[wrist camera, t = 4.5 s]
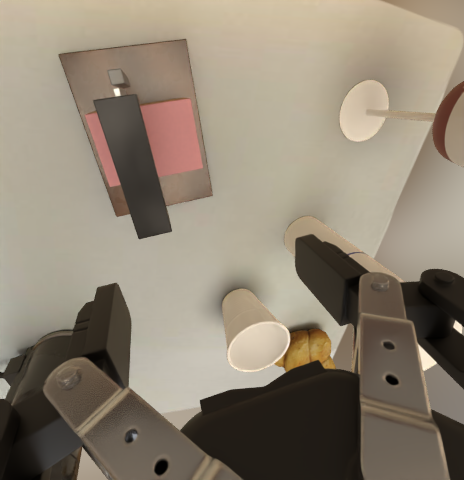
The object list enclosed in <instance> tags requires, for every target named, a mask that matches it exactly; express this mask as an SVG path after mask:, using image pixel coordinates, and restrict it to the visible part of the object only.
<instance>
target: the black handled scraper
mask: <svg viewBox="0 0 464 480" xmlns="http://www.w3.org/2000/svg"><path fill="white" fill-rule="evenodd" d="M113 91H114V94H115V97H110V98H103V99H97V100H93V102H94V105H95V108H96V111H97V114H98V118H99V121H100V124H101V127H102V130H103V133H104V136H105V139H106V142H107V145H108V148H109V151H110V154H111V157H112V160H113V163H114V166H115V169H116V172H117V175H118V178H119V181H120V184H121V187H122V190H123V193H124V196H125V199H126V202H127V205H128V208H129V211H130V214H131V217H132V220H133V223H134V226H135V229H136V232H137V235H138V239H142V238H147V237H151V236H155V235H159V234H163V233H168V232H172V229H171V224H170V220H169V215H168V211H167V208H166V204H165V200H164V196H163V192H162V188H161V185H160V181H159V177H158V173H157V169H156V165H155V161H154V158H153V154H152V150H151V146H150V142H149V138H148V135H147V131H146V127H145V123H144V119H143V115H142V112H141V108H140V104H139V100H138V96H137V94H131V95H127V94H126V91H125V90H124V89H121V88H113Z"/></svg>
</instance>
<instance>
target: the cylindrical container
mask: <svg viewBox="0 0 464 480" xmlns="http://www.w3.org/2000/svg"><path fill="white" fill-rule="evenodd" d="M309 234H313V235H315V236H316V237H317V238H318V239H320V240H321V241H322V242H324V241H326V242H328V243H331V244H334V245H336V246H337V247H339V248H340V249H341V250H342V251H343V252H345V253H346V254H347V255H349V257H351V258H353V259H354V260H355V261H356V262H358V263H359V264H360V265H362V266H363V267H364V268H365V269H367V270H368V271H369V272H380V273H385V274H388V275H391V276H393V277H394V278H396V279H397V280H398V281H399V282H405V281H403V280H402V279H400V278H399V277H398V276H396V275H395V274H394V273H392V272H391V271H389V270H388V269H386V268H385V267H384V266H382V265H381V264H379V263H378V262H377V261H375V260H374V259H372V258H371V257H370V256H368V255H367V254H365V253H364V252H363V251H361V250H360V249H358V248H357V247H355V246H354V245H353V244H351V243H350V242H348V241H347V240H346V239H344V238H343V237H341V236H340V235H339V234H337V233H336V232H334V231H333V230H332V229H330V228H329V227H327V226H326V225H325V224H323V223H322V222H320V221H319V220H318V219H316V218H314V217H311V216H305V217H301V218H299V219H297V220H295V221H294V222H293V223H292V224H291V225H290V226H289V227H288V229H287V230H286V233H285V236H284V243H285V246H286V248H287V249H288V251H289V252H290V253H291V254H292V255H293V256H294V257H295V240H296V238H297V237H301V236H305V235H309ZM453 328H455V329H456V330H457V331H458V332H460V333H462V325H461V324H459V323H458V322H457V321H455V324H454V326H453ZM418 347H419V352H420V357H421V362H422V368H423V371H424V370H426V369H428V368H430V367H432V366H434V365H435V364H436V363H437V362H436V361H435V360H434V359H433V358H432V357H431V356H430V355H429V354H428V353H427V352H426V351H425V350H424V349H423V348H422V347H421V346H420V345H419V344H418Z"/></svg>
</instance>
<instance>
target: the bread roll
mask: <svg viewBox="0 0 464 480" xmlns="http://www.w3.org/2000/svg"><path fill="white" fill-rule="evenodd" d="M330 353H331V341H330V339H329V337H328V335H327V334H326V332H324V331H322V330H320V329H310V330H308V331H304V330H301V331H295V332H292V333H291V334H290V344H289V347H288V349H287V351H286V352H285V354H284V355H283V356H282V357H281V358H280V359H279V360H278V361H277V362H276V363H274V364H275V365H277V366H278V367H284V368H285V371H286V372H287V371H289V370H290V369H293V368H296V367H298V366H301V365H304V364H307V363H310V362H313V361H316V360H319V361H320V362H321V364H322V365H323V367H324V368H325V369H327V368H330V369H336V367H335V365H334V363H333V361H332V359H331V357H330Z"/></svg>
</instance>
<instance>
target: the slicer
mask: <svg viewBox="0 0 464 480" xmlns="http://www.w3.org/2000/svg"><path fill="white" fill-rule="evenodd" d="M59 58H60V60H61V63H62V66H63V69H64V72H65V74H66V77H67V80H68V83H69V86H70V88H71V91H72V94H73V97H74V99H75V102H76V105H77V108H78V111H79V113H80V116H81V119H82V122H83V125H84V127H85V130H86V133H87V136H88V139H89V141H90V144H91V147H92V150H93V152H94V155H95V158H96V161H97V164H98V166H99V169H100V172H101V175H102V178H103V180H104V183H105V186H106V189H107V192H108V194H109V197H110V200H111V203H112V206H113V208H114V211H115V214H116V216H117V217H119V216H123V215H128V214H130V211H129V208H128V205H127V202H126V199H125V196H124V193H123V190H122V187H121V185H118V186H113V187H110V186H109V183H108V180H107V178H106V175H105V172H104V169H103V166H102V163H101V160H100V158H99V155H98V152H97V149H96V146H95V143H94V141H93V138H92V135H91V132H90V129H89V126H88V123H87V121H86V118H85V114H88V113H91V112H94V111H96V108H95V105H94V102H93V100H97V99H103V98H110V97H115V94H114V91H113V88H121V89H124V90H125V91H126V94H127V95H131V94H137V96H138V100H139V104H145V103H151V102H158V101H164V100H171V99H177V98H190V99H191V103H192V109H193V114H194V120H195V125H196V131H197V137H198V142H199V148H200V153H201V159H202V164H203V168H202V169H197V170H192V171H187V172H182V173H177V174H172V175H167V176H162V177H159V181H160V185H161V188H162V192H163V196H164V200H165V204H166V206H168V205H173V204H177V203H182V202H186V201H191V200H196V199H200V198H205V197H209V196H213V194H212V189H211V183H210V177H209V171H208V165H207V159H206V154H205V148H204V142H203V136H202V130H201V124H200V119H199V113H198V107H197V101H196V95H195V89H194V84H193V78H192V72H191V66H190V60H189V54H188V49H187V43H186V39H183V40H175V41H166V42H158V43H149V44H141V45H132V46H124V47H115V48H106V49H98V50H89V51H81V52H72V53H64V54H59Z"/></svg>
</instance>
